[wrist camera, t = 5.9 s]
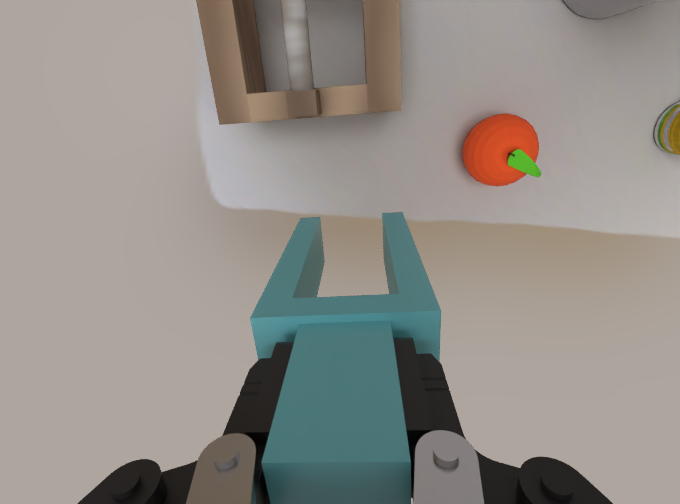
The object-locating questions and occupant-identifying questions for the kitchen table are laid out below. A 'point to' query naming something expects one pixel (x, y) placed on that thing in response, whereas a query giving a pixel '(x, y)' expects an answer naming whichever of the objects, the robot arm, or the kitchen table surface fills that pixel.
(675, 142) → the supplement bottle
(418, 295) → the teal tuning fork
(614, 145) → the kitchen table surface
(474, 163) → the clementine
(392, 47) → the wooden rod stand
